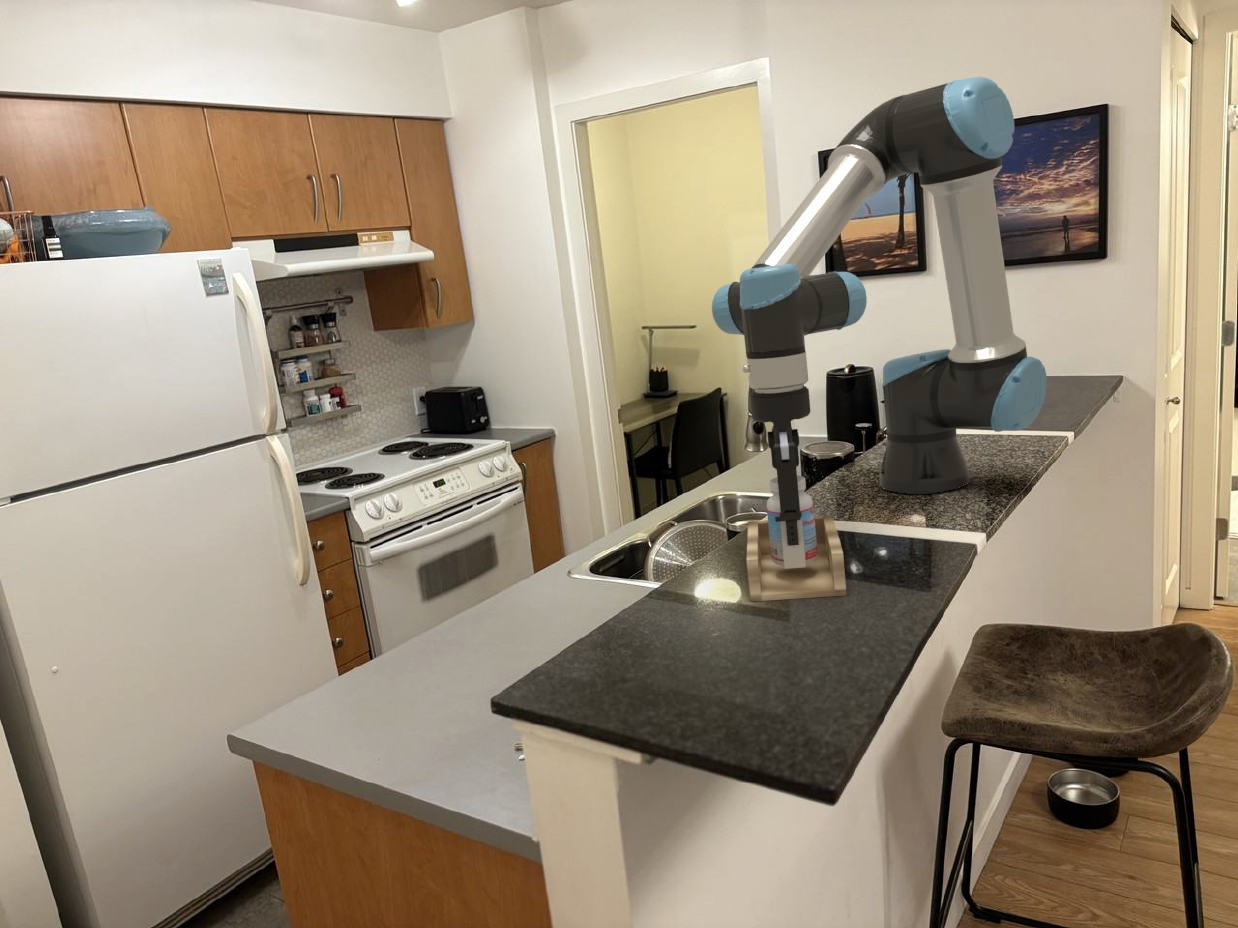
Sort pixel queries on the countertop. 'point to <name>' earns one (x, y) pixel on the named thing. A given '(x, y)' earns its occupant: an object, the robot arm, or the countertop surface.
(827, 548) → the cradle
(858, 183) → the robot arm
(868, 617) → the countertop surface
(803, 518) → the pill bottle
